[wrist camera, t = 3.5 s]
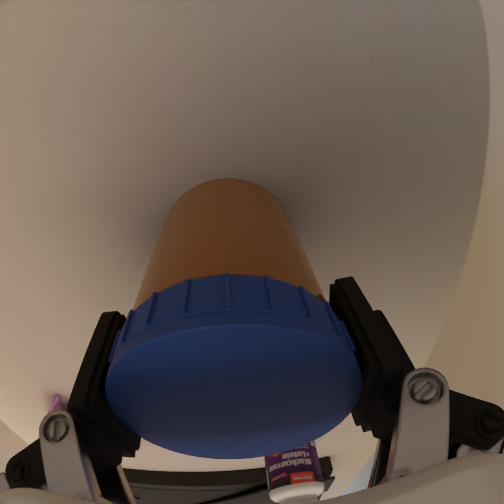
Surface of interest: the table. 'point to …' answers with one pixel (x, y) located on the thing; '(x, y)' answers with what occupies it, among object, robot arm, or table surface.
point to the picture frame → (208, 486)
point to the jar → (227, 240)
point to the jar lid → (232, 368)
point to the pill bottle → (294, 475)
